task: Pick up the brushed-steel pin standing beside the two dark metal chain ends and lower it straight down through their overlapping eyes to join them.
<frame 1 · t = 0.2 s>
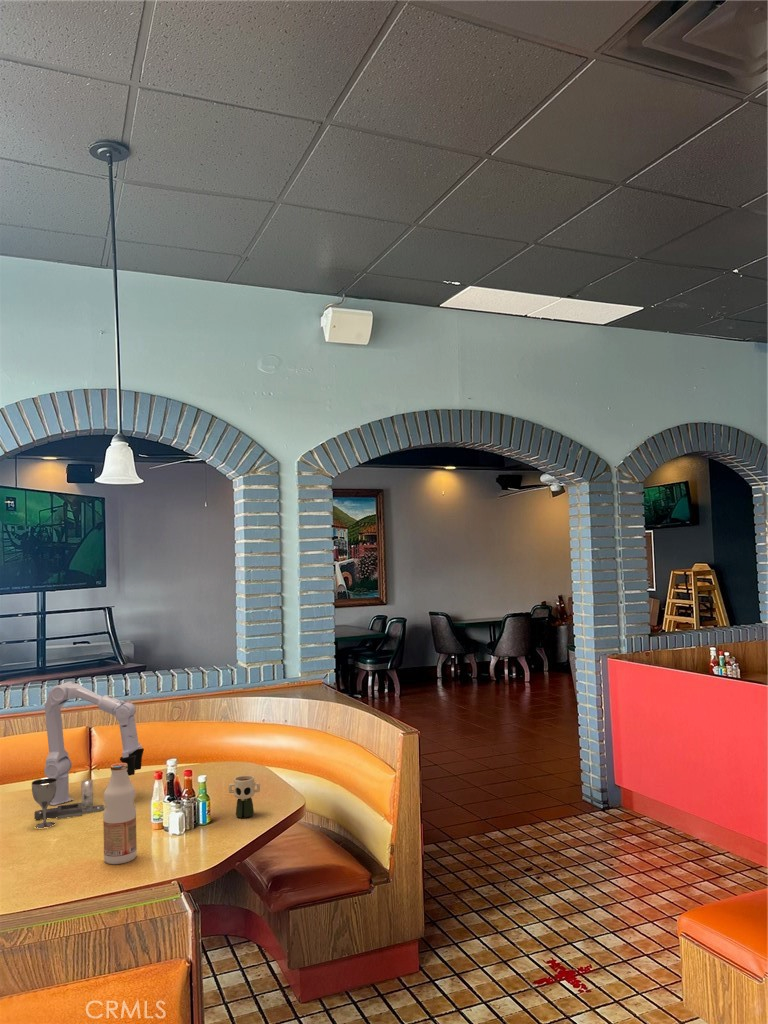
hand: (134, 772, 290), 11 cm above the table, tool pointing down, fingers open, 7 cm apart
wine glass: (44, 826, 265), on the table
chain ends: (69, 814, 276), on the table
fruit juice: (120, 859, 234), on the table
character mug: (244, 816, 269), on the table
steel pin: (87, 806, 285), on the table
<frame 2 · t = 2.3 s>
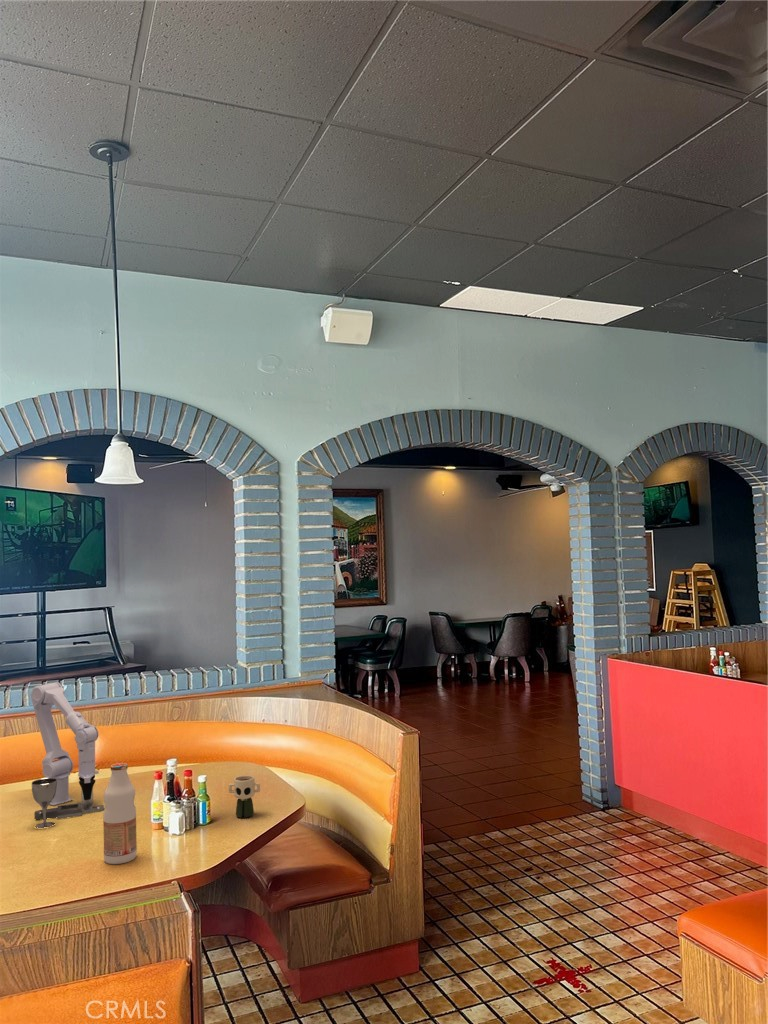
hand: (87, 797, 285), 3 cm above the table, tool pointing down, fingers closed on steel pin, 4 cm apart
steel pin: (87, 806, 285), on the table, touching gripper
everything else where it was.
when the fingers open (3 cm above the table, at t = 5.8 s): steel pin stays where it is, resting in chain ends.
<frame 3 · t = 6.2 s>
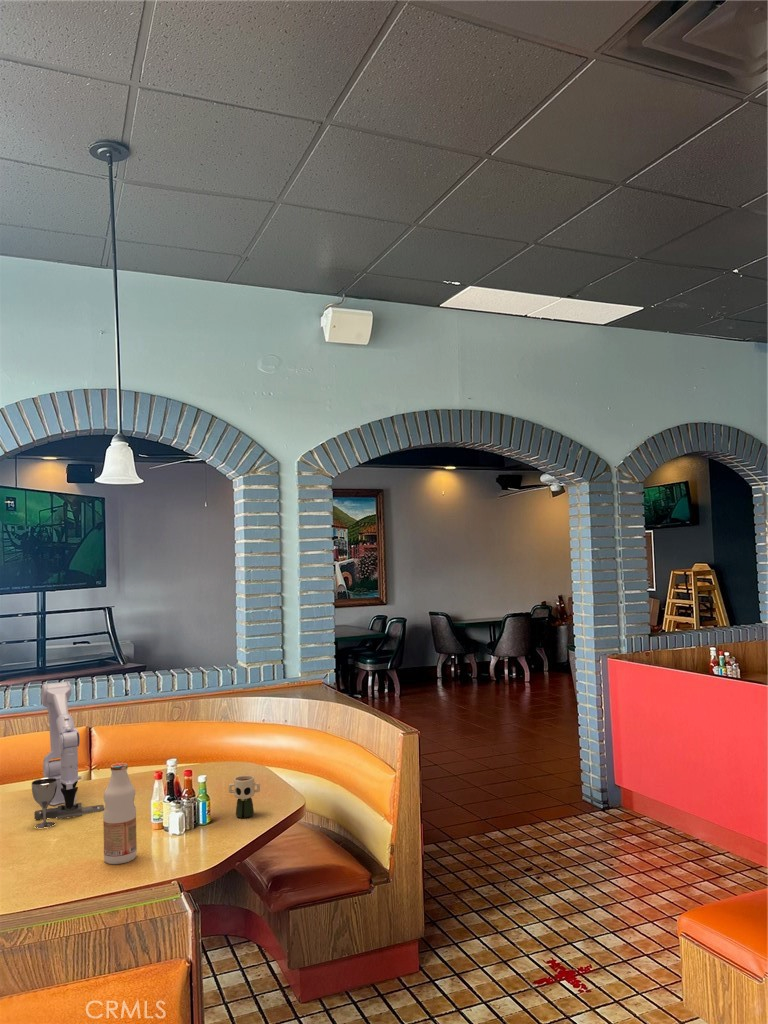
hand: (69, 804, 277), 3 cm above the table, tool pointing down, fingers open, 7 cm apart
steel pin: (70, 814, 277), resting in chain ends
everything else where it was.
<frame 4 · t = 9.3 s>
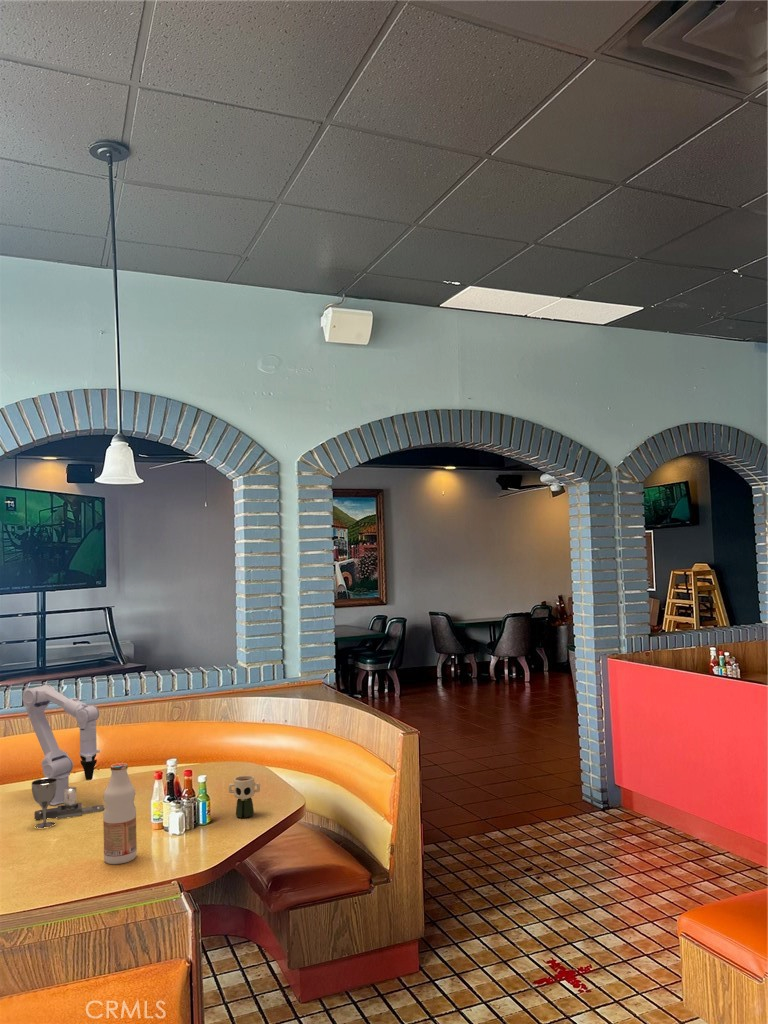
hand: (88, 776, 286), 10 cm above the table, tool pointing down, fingers open, 7 cm apart
nothing on the table moved.
at the end: steel pin 0.3 cm off-centre on the chain ends, point 0.0 cm above the chain ends's base; steel pin tilted 0°; the gripper is holding nothing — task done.
